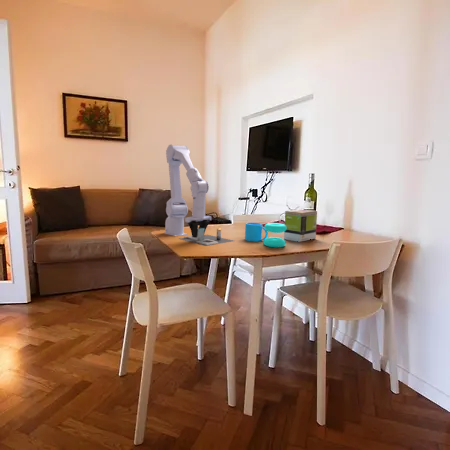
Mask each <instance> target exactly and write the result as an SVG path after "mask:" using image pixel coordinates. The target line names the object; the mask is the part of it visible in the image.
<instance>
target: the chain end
mask: <svg viewBox="0 0 450 450" xmlns="http://www.w3.org/2000/svg"><path fill="white" fill-rule="evenodd" d="M204 235H205V233H204V228H201V227H199V226H198V228H197V236H196V238H194V237H192V235H187V236H183V238H184V239H191V240H192V241H196V243H199V244H198V245H200V244H203V245H202V246H204V245H208V246H212V244H214V245H218V242H217V241H213V240H209V239H206V240H204ZM206 242H209V243H206ZM196 243H195V244H196Z"/></svg>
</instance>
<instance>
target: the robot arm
mask: <svg viewBox="0 0 450 450" xmlns="http://www.w3.org/2000/svg"><path fill="white" fill-rule="evenodd" d="M165 155H166V162H167V164H168V172H169V185H170V198H169V199H168V200H167V201H166V208H165V212H166V215H167V217H166V218H165V223H164V224H165V229H164V230H165V232H163V234H164V235H170V236H172V237H178V236H185V235H187V236H188V233H185V232H184V231H185V230H184V229H185V223H187V225H188V227H189V229H190V233H191V236H192V237H194V238H196V236H197V228H198V227H201V228H204V234H205V232H206V230H207V228H208V226H209V225H210V221H212V216H210V215H206V199H207V198H206V194H207V193H208V192H209V188H210V187H209V186H210V185H209V183H208V181H207V180H205V179H203V177H202V175H201V174H200V171H199V170H198V168H197V167H194V165H193V163H192V160H191V158H190V155H191V152H190V149H189V147H188V146H187V145H178V144H177V145H176V144H168V146H167V148H166V150H165ZM181 165H182V166H184V168H185V170H186V173H185V174H186V177H187V179H188V182H189V183H190V192H191V197H192V214H191V215H192V216H188V217H186V216H187V215H188V212H189V207H188V206H187V201H186V200H185V199H184V198H183V196H182V185H181V184H182V183H181V170H180V166H181Z"/></svg>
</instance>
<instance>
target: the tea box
mask: <svg viewBox="0 0 450 450" xmlns="http://www.w3.org/2000/svg"><path fill="white" fill-rule="evenodd" d="M317 221H318V211H317V210H312V209H302V208H300V209H292V210H285V211H284V225H286V227H287V229H286V231H284V232H283V239H284V240H287V241H292V242H297V241H298V243H301V242H305V241H310V239H311V240H314V239H315V238H317V225H318V224H317ZM315 240H316V239H315Z"/></svg>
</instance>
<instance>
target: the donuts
mask: <svg viewBox="0 0 450 450" xmlns="http://www.w3.org/2000/svg"><path fill="white" fill-rule="evenodd" d="M263 227H264V228H265V230H266V231H267V232H269V233H273V234H281V233H284V231H286V229H287V227H286V225H285V223H279V222H267V223H265V224H264V226H263ZM263 245H265V246H266V247H269V248H283V247H285V246H286V239H284V238H281V237H277V236H267V238H266V239H265V240H263Z"/></svg>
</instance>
